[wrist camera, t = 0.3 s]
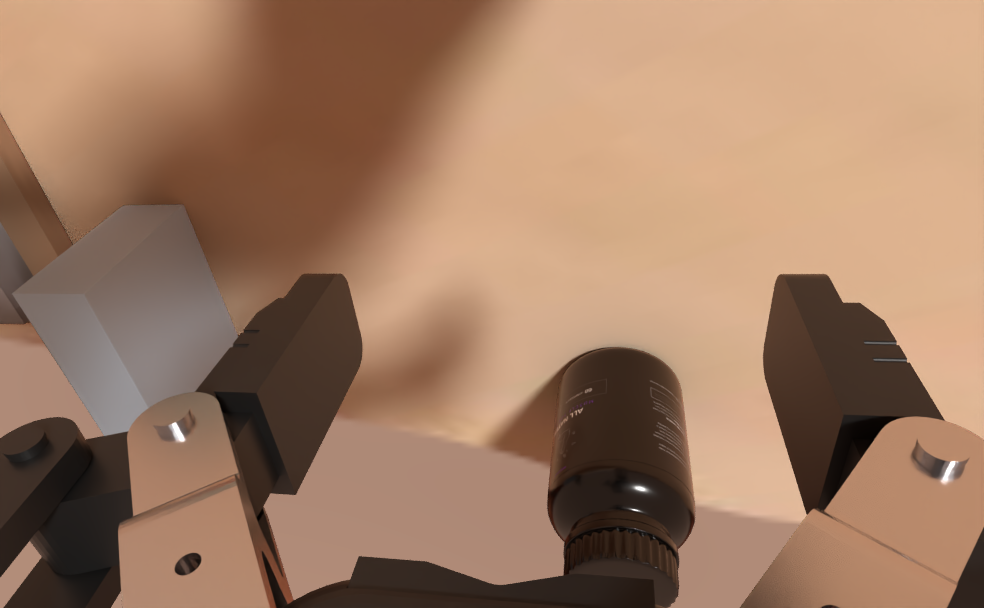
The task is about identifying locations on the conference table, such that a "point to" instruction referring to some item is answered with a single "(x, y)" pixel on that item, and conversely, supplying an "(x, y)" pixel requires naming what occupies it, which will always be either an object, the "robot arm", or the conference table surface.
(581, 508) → the supplement bottle
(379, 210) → the conference table surface
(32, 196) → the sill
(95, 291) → the gray rectangular block
